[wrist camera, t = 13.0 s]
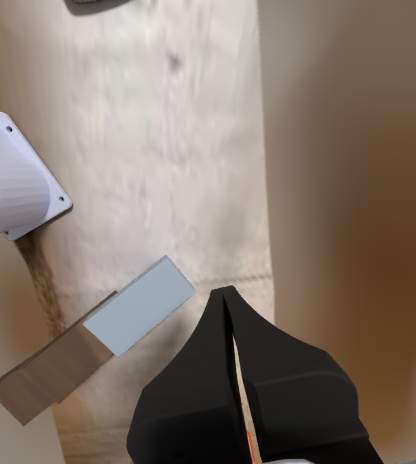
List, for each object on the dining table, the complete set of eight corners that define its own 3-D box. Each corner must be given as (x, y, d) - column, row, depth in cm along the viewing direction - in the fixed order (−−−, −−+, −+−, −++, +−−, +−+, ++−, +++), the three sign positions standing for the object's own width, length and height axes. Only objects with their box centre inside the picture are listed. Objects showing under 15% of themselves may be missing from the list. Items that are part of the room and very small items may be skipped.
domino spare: (193, 286, 23) (120, 347, 22) (166, 254, 22) (87, 315, 20) (195, 292, 22) (118, 357, 20) (167, 257, 20) (82, 324, 19)
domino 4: (142, 320, 24) (63, 392, 21) (115, 290, 23) (26, 361, 20) (144, 325, 23) (58, 404, 19) (114, 294, 21) (18, 371, 18)
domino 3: (119, 343, 24) (30, 413, 21) (95, 312, 24) (-3, 379, 20) (119, 350, 23) (23, 426, 19) (93, 317, 22) (-13, 390, 18)
